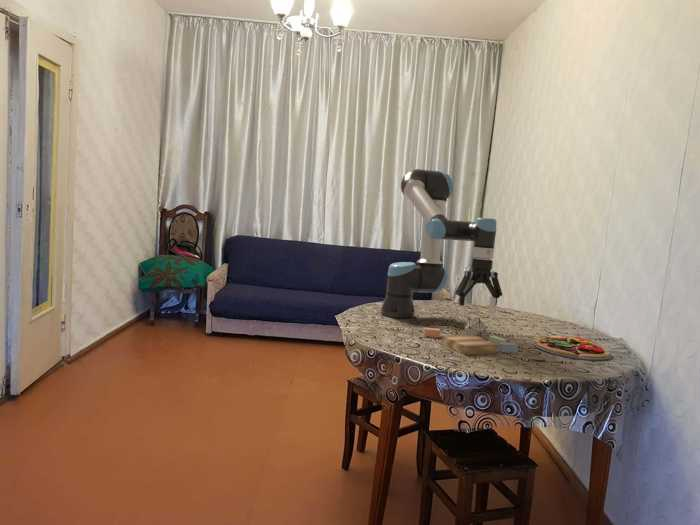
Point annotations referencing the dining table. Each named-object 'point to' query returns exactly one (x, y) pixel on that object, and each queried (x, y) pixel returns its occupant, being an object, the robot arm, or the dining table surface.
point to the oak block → (469, 344)
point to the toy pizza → (572, 348)
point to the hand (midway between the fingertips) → (477, 314)
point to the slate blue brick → (507, 347)
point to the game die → (475, 327)
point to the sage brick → (496, 339)
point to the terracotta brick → (431, 332)
